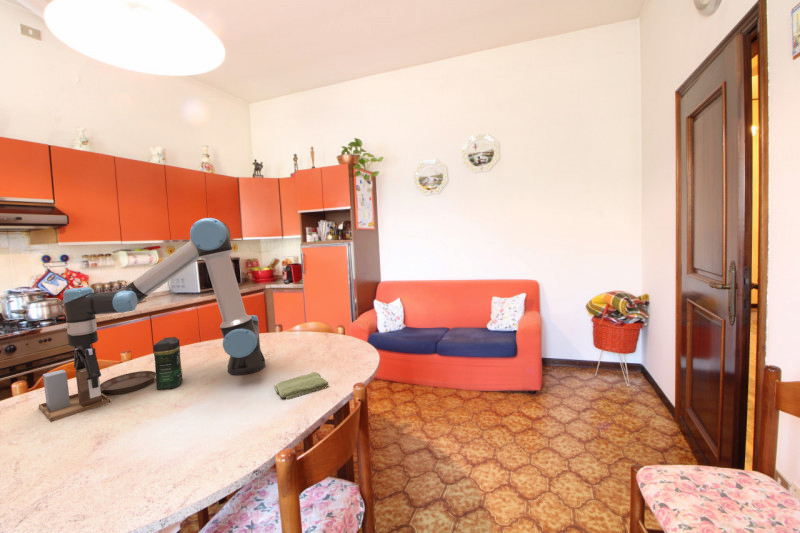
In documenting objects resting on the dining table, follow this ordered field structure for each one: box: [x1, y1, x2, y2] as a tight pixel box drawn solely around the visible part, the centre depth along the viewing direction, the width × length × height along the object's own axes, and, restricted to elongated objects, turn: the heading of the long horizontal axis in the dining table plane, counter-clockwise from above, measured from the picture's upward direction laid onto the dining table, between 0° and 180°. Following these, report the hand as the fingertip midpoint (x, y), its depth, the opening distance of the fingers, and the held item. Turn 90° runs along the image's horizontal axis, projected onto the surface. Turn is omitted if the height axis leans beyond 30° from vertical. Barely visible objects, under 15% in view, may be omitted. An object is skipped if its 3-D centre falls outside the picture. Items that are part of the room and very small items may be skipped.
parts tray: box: [38, 392, 112, 423], centre depth 120 cm, size 17×15×2 cm
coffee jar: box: [152, 336, 183, 391], centre depth 134 cm, size 10×8×19 cm
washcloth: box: [273, 371, 329, 400], centre depth 128 cm, size 13×18×3 cm
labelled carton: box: [75, 368, 102, 407], centre depth 121 cm, size 4×5×12 cm
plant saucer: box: [100, 370, 156, 395], centre depth 135 cm, size 18×18×3 cm
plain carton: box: [42, 369, 70, 412], centre depth 118 cm, size 4×5×12 cm
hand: (89, 392), depth 121 cm, fingers open, 13 cm apart
